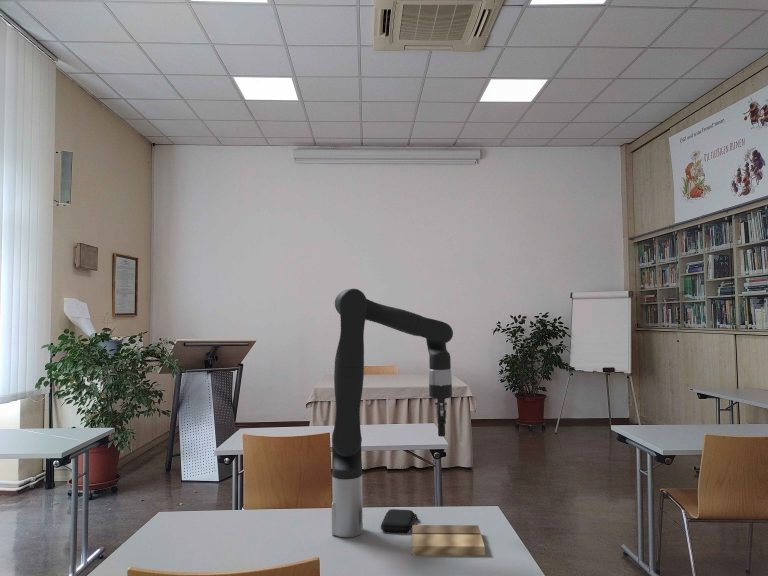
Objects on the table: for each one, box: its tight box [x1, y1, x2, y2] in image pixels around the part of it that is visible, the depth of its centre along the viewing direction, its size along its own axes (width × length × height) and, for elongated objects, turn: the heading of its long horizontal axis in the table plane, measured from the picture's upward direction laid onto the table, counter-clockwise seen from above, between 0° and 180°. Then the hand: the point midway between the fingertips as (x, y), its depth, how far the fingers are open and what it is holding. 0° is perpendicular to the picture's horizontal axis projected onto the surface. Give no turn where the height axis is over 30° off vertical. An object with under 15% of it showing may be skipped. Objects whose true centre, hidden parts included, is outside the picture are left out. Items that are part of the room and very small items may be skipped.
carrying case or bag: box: [380, 508, 419, 534], centre depth 172 cm, size 11×3×15 cm
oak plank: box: [411, 534, 486, 556], centre depth 154 cm, size 20×8×2 cm, turn 87°
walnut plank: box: [411, 524, 482, 536], centre depth 162 cm, size 20×6×2 cm, turn 87°
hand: (441, 435), depth 177 cm, fingers closed
